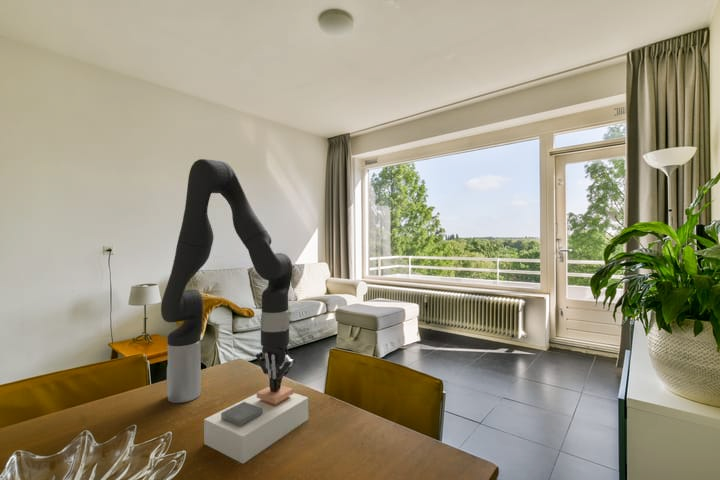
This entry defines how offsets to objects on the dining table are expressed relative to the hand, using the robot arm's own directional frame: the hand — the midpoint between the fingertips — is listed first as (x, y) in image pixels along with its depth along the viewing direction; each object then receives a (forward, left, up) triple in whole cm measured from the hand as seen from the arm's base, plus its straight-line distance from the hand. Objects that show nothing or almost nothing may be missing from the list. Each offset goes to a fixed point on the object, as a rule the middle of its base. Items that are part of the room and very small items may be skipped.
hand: (275, 390), depth 94 cm
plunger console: (0, -5, -8) cm, 10 cm away
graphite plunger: (0, -11, -7) cm, 13 cm away
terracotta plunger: (0, 0, -6) cm, 6 cm away
